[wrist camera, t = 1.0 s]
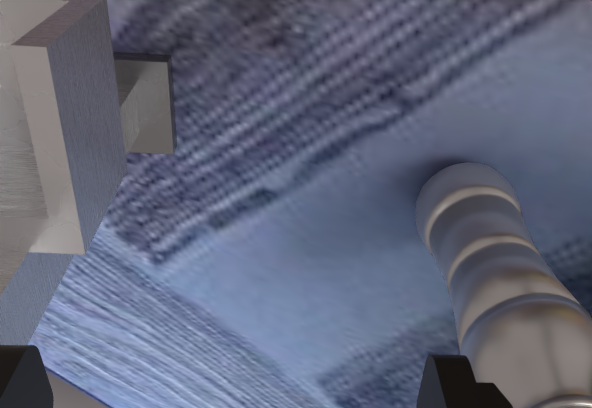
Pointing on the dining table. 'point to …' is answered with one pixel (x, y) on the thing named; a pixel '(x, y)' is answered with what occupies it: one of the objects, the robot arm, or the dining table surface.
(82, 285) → the dining table surface
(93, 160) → the cup bracket
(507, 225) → the plastic bottle
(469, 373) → the robot arm
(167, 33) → the dining table surface
